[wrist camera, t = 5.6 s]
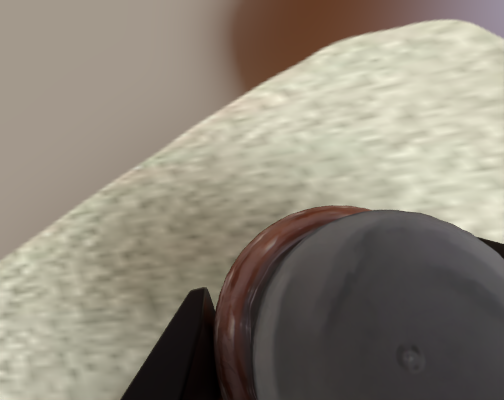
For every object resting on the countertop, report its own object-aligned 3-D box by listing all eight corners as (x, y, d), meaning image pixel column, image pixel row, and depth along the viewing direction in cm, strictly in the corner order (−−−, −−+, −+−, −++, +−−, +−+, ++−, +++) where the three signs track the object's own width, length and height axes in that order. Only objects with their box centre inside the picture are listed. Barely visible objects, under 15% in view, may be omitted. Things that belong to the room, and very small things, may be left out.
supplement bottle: (224, 364, 14) (80, 597, 3) (254, 242, 15) (233, 112, 5) (351, 401, 13) (779, 885, 2) (366, 269, 15) (638, 187, 4)
